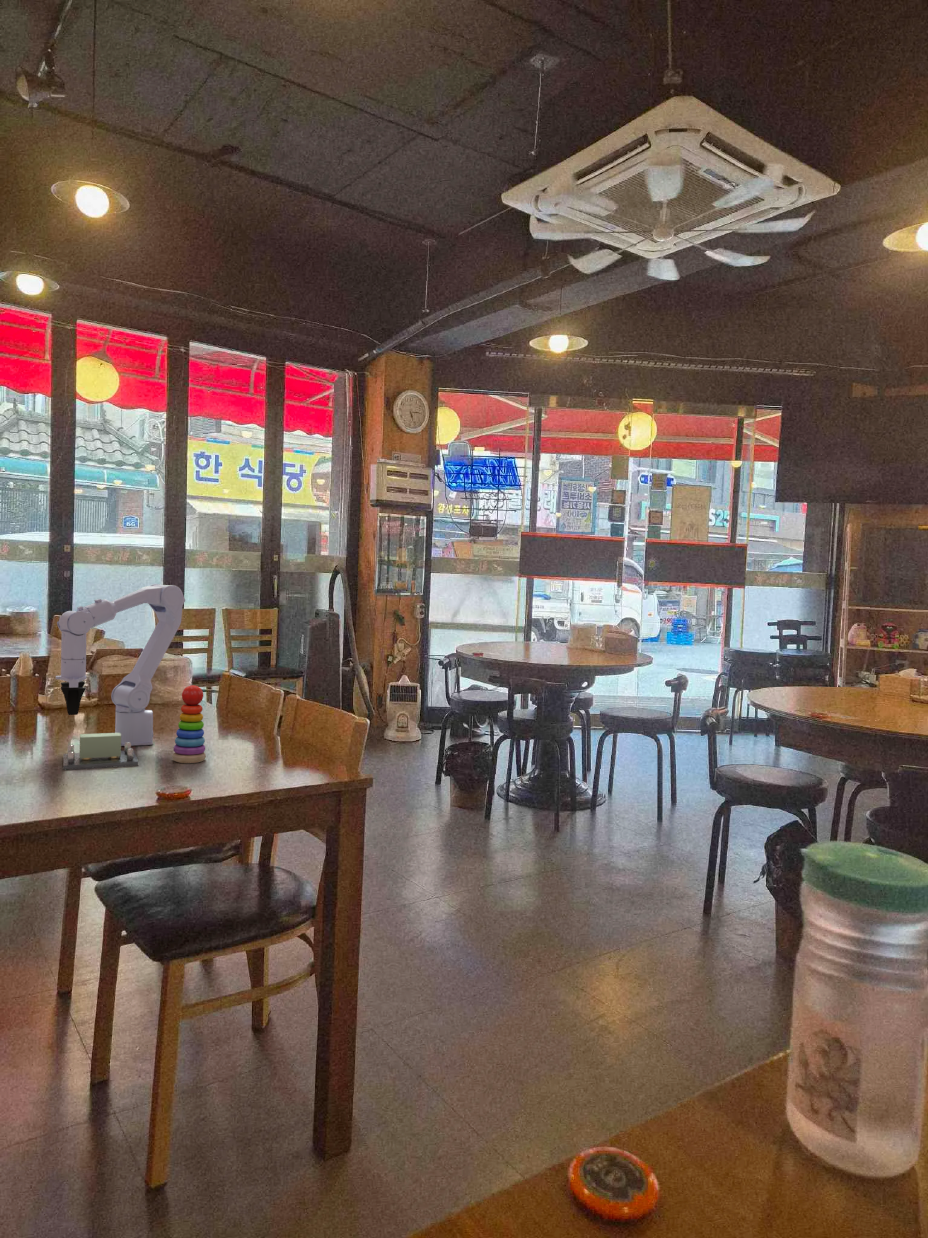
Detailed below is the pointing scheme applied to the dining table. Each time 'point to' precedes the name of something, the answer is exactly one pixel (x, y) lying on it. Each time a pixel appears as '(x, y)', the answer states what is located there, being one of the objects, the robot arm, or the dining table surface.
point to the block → (100, 745)
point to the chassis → (99, 759)
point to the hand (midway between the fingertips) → (72, 712)
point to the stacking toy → (190, 728)
